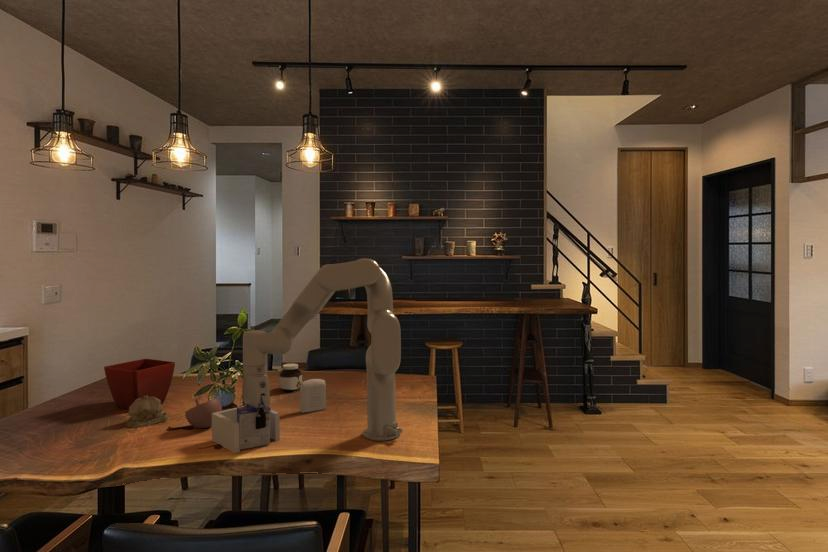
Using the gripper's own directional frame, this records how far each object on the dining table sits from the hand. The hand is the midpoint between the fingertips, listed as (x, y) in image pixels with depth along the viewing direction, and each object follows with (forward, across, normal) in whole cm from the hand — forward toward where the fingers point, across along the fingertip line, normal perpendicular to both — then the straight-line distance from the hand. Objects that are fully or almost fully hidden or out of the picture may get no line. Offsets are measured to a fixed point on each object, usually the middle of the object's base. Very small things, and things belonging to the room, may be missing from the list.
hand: (254, 424), depth 158 cm
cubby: (+7, +7, -1) cm, 10 cm away
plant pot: (+8, +77, +10) cm, 78 cm away
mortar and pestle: (+8, +30, +4) cm, 31 cm away
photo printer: (+7, +18, -35) cm, 40 cm away
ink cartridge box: (+7, +2, 0) cm, 7 cm away
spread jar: (+7, +54, -45) cm, 70 cm away
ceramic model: (+8, +51, +16) cm, 54 cm away
